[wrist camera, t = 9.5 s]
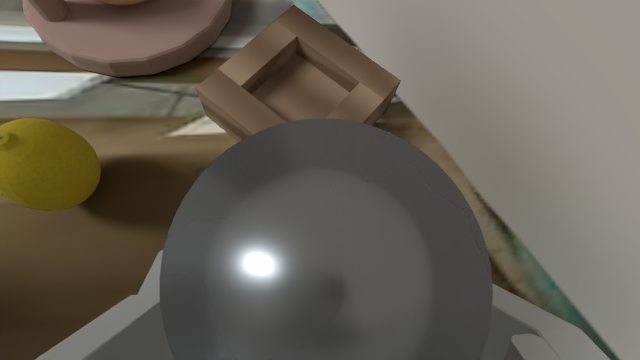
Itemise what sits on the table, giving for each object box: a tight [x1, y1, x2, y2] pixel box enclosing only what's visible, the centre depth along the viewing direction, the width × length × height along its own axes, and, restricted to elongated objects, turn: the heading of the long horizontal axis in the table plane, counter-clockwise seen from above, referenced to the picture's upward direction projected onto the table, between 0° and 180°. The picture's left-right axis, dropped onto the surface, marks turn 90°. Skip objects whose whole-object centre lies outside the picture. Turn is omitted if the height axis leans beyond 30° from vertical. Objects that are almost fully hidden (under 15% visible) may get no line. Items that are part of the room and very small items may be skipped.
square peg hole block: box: [195, 5, 401, 142], centre depth 29 cm, size 11×11×4 cm
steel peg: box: [160, 118, 493, 360], centre depth 10 cm, size 4×4×12 cm
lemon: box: [0, 118, 101, 211], centre depth 23 cm, size 6×6×8 cm
